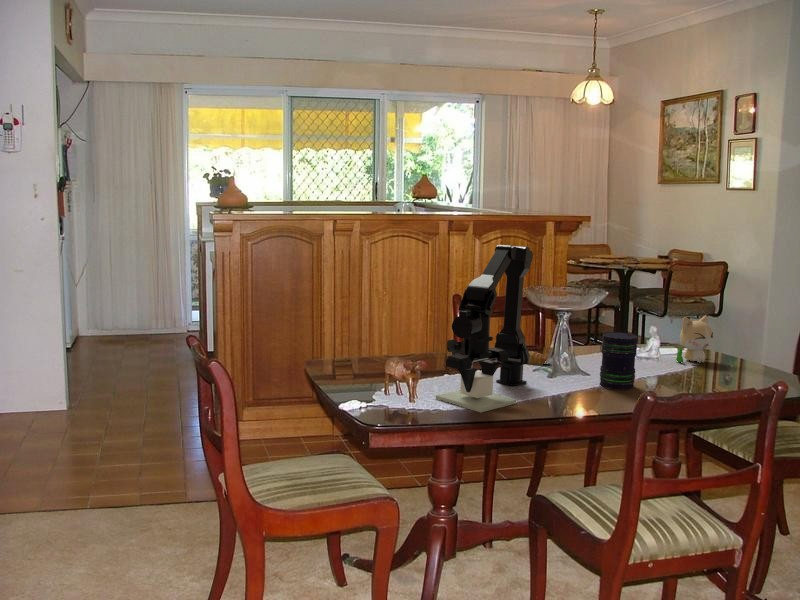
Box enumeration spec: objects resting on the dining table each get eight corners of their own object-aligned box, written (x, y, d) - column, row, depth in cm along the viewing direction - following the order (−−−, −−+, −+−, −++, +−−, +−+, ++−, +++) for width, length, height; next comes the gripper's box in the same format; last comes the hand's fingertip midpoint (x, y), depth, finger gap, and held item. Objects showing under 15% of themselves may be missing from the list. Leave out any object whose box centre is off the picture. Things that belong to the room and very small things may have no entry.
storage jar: (609, 391, 237) (613, 339, 235) (592, 382, 246) (596, 332, 244) (641, 389, 240) (644, 338, 238) (623, 381, 249) (626, 331, 247)
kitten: (688, 366, 271) (692, 320, 269) (665, 359, 280) (669, 315, 278) (721, 362, 278) (725, 317, 276) (698, 356, 287) (701, 313, 284)
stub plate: (471, 390, 233) (471, 378, 233) (516, 403, 222) (516, 390, 221) (435, 398, 224) (436, 386, 224) (480, 412, 212) (481, 399, 212)
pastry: (553, 363, 271) (554, 352, 270) (545, 367, 265) (546, 355, 265) (526, 359, 276) (526, 348, 275) (517, 363, 270) (518, 351, 270)
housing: (475, 389, 227) (476, 371, 226) (492, 394, 222) (493, 376, 222) (460, 393, 223) (461, 375, 222) (477, 398, 218) (477, 379, 218)
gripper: (479, 323, 232) (477, 378, 235) (431, 331, 220) (429, 389, 222) (510, 330, 224) (508, 387, 227) (462, 338, 212) (460, 398, 214)
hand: (476, 390), depth 223 cm, fingers closed on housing, 6 cm apart
